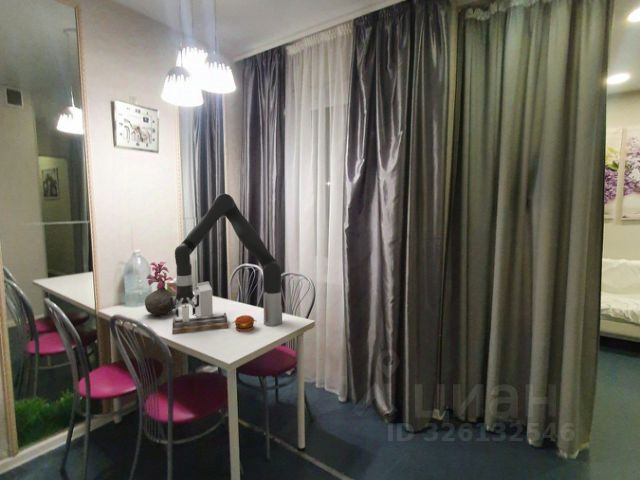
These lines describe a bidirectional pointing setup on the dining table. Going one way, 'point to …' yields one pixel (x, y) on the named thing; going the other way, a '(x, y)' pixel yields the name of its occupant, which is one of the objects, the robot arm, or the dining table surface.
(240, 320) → the hamburger
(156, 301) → the vase
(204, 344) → the dining table surface
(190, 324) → the fader console
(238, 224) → the robot arm
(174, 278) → the tea box
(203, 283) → the milk carton
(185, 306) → the fader tab
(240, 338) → the dining table surface
